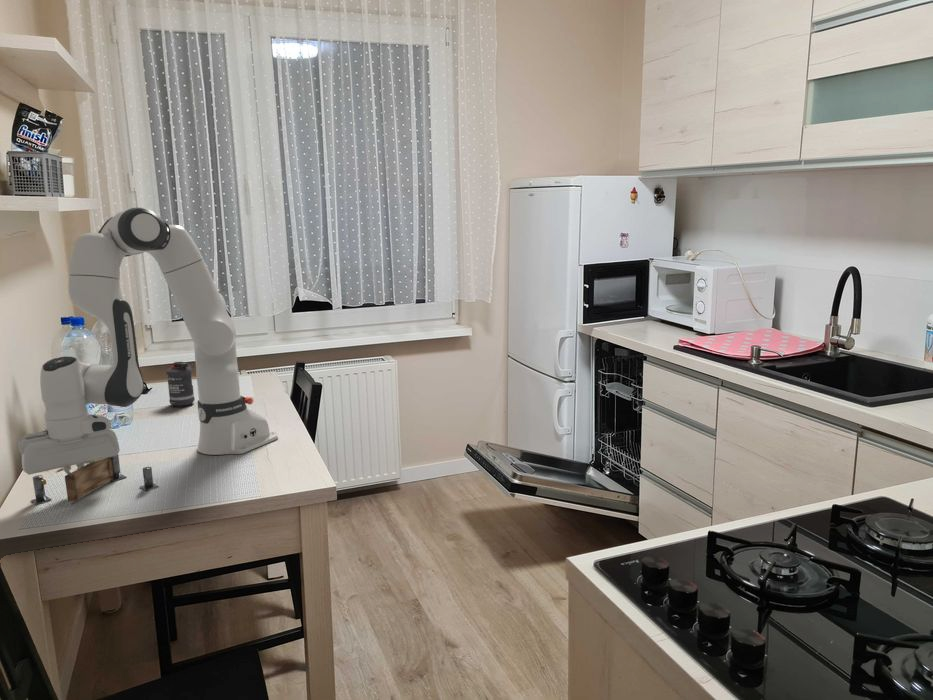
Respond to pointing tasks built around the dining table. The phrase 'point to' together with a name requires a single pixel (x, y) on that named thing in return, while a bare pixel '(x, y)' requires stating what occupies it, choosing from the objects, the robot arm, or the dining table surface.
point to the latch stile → (39, 490)
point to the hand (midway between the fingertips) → (75, 481)
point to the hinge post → (116, 469)
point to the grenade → (180, 384)
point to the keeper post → (148, 479)
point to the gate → (88, 478)
